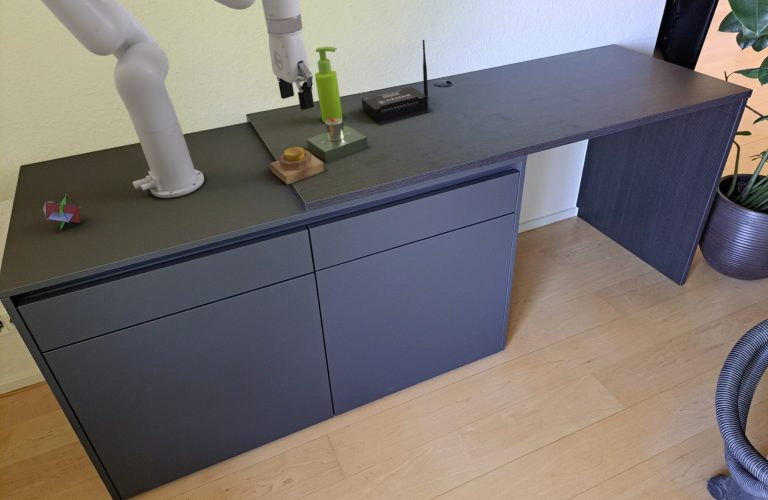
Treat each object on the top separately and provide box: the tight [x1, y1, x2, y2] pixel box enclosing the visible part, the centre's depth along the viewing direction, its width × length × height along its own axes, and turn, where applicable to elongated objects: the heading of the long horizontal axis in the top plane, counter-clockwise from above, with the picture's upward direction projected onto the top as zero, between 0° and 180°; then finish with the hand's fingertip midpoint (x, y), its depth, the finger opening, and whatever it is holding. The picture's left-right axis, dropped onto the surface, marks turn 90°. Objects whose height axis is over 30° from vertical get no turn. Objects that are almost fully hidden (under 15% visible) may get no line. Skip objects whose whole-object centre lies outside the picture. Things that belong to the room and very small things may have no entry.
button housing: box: [269, 149, 325, 185], centre depth 134 cm, size 10×9×4 cm
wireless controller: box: [360, 39, 431, 126], centre depth 156 cm, size 20×14×17 cm
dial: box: [324, 117, 345, 141], centre depth 140 cm, size 4×4×5 cm
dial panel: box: [306, 125, 369, 163], centre depth 142 cm, size 12×10×3 cm
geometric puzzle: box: [42, 194, 81, 232], centre depth 122 cm, size 7×7×8 cm
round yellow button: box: [283, 146, 305, 161], centre depth 132 cm, size 5×5×2 cm
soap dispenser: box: [314, 46, 343, 123], centre depth 154 cm, size 6×7×20 cm
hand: (297, 102), depth 128 cm, fingers open, 9 cm apart
